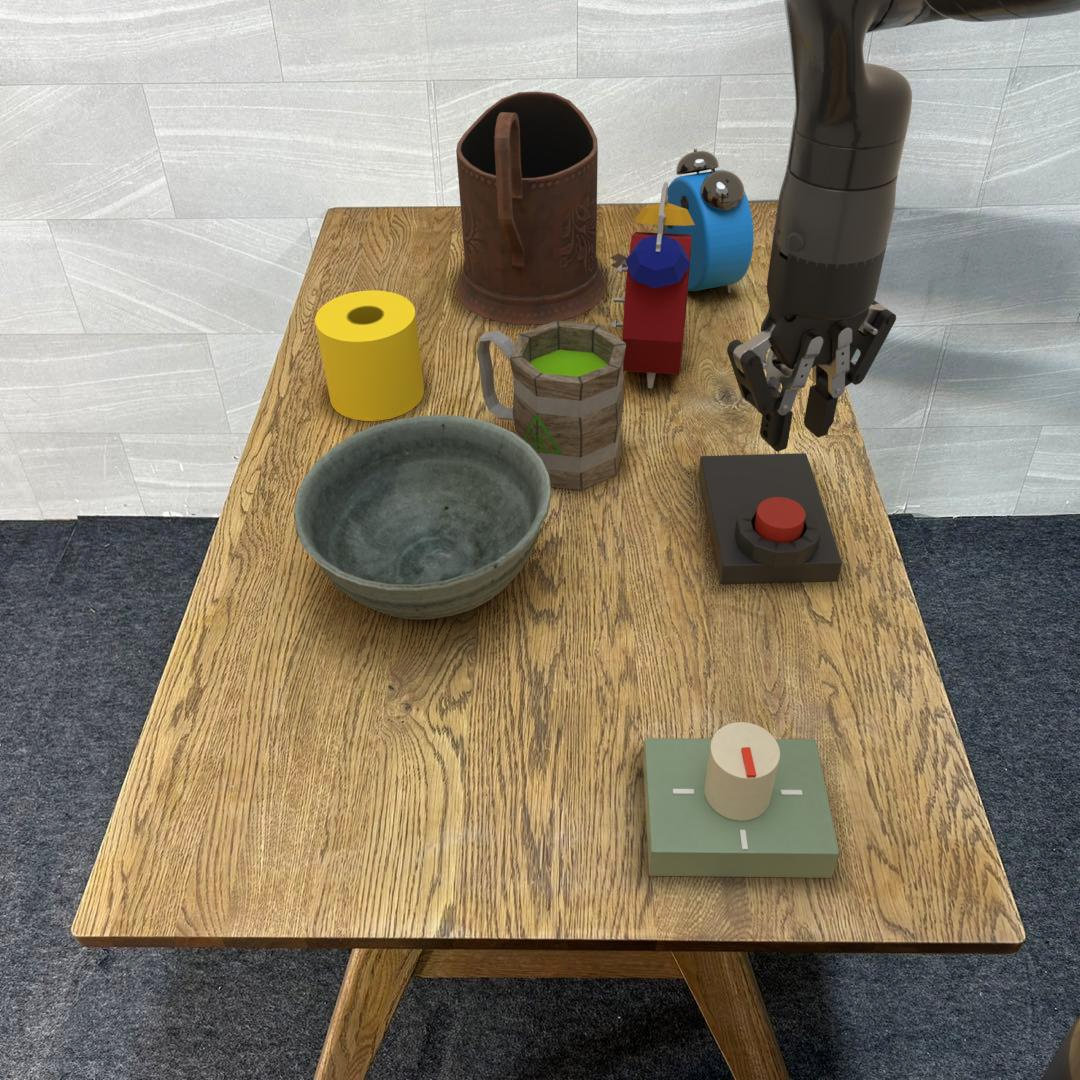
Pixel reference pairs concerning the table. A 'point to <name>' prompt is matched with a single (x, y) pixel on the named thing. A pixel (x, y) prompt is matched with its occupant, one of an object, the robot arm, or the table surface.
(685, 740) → the dial panel
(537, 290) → the tea glass holder
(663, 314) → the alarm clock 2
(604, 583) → the table surface
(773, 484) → the button box
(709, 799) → the dial knob
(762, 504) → the button
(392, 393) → the yellow toilet paper roll
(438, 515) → the bowl
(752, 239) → the alarm clock
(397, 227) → the table surface
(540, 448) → the mug
